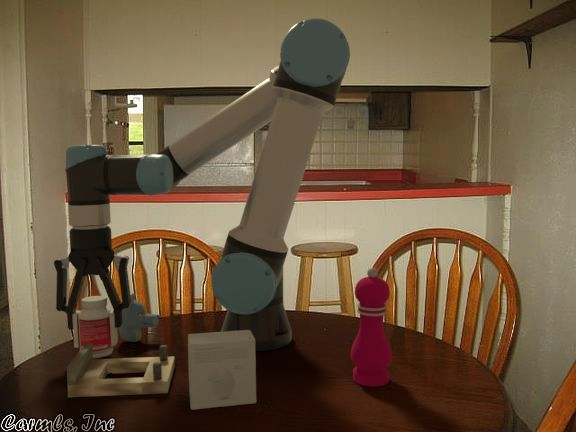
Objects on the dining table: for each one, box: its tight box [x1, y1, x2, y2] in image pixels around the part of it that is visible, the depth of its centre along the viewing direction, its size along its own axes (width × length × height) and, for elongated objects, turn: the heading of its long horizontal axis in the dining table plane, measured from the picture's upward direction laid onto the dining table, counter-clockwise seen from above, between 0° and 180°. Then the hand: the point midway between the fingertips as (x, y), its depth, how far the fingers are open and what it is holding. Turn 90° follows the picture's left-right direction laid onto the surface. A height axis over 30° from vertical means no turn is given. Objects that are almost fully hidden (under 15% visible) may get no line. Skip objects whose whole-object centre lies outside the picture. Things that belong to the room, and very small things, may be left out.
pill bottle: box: [78, 295, 114, 359], centre depth 108 cm, size 6×6×11 cm
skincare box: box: [187, 330, 258, 411], centre depth 90 cm, size 10×6×10 cm, turn 102°
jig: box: [66, 344, 176, 398], centre depth 97 cm, size 16×12×5 cm
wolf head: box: [117, 292, 161, 343], centre depth 119 cm, size 6×9×10 cm
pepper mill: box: [350, 267, 393, 388], centre depth 97 cm, size 7×7×20 cm
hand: (96, 344), depth 108 cm, fingers closed on pill bottle, 6 cm apart
